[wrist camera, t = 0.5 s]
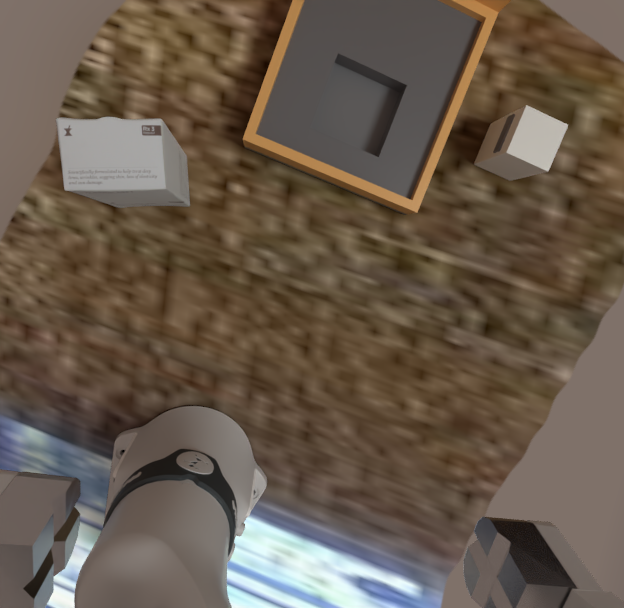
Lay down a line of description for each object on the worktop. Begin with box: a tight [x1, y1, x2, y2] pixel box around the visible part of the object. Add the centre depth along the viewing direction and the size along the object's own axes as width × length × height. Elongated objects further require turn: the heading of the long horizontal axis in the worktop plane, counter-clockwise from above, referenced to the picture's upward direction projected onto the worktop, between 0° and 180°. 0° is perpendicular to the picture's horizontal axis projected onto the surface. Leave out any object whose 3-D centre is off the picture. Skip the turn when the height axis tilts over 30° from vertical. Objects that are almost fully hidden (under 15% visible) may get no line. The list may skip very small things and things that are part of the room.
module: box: [474, 105, 568, 181], centre depth 50 cm, size 5×5×8 cm
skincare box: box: [56, 117, 190, 208], centre depth 43 cm, size 8×6×15 cm
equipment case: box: [243, 0, 511, 215], centre depth 38 cm, size 23×20×26 cm
